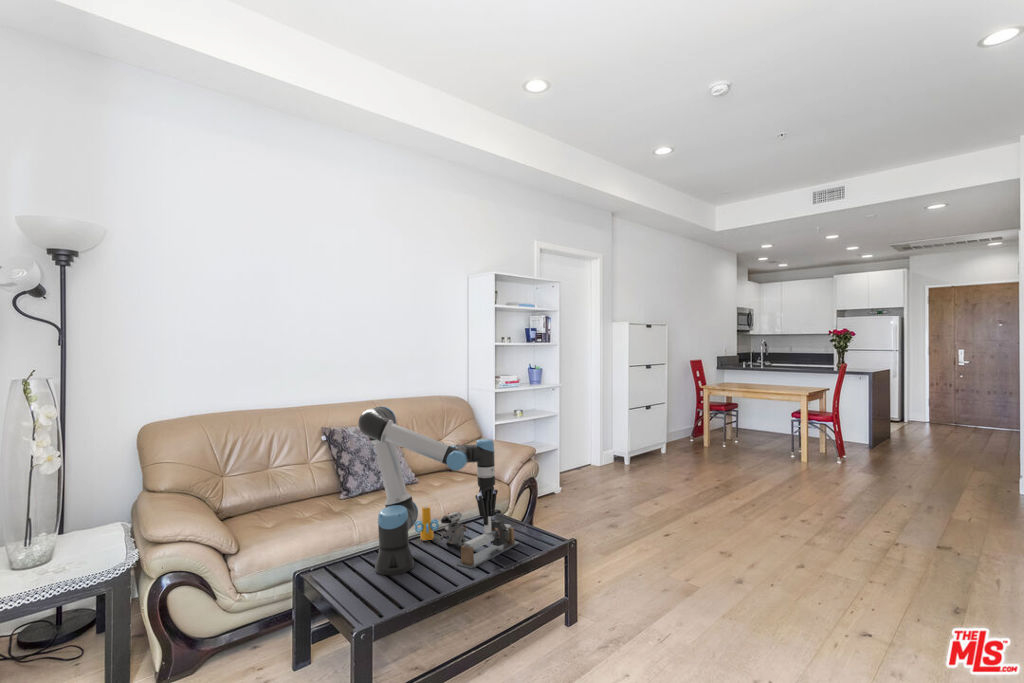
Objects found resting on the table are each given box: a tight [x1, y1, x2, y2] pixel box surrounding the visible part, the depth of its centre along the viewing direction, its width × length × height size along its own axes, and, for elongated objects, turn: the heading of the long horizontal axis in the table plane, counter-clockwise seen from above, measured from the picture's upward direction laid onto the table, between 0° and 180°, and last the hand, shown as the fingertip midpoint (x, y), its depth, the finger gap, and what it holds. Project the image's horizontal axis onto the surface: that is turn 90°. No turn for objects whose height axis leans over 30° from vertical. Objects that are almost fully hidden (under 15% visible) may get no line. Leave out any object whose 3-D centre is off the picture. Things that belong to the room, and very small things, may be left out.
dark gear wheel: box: [485, 519, 508, 546], centre depth 224 cm, size 2×10×10 cm, turn 54°
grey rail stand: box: [456, 523, 519, 569], centre depth 219 cm, size 32×8×9 cm, turn 144°
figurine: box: [440, 511, 467, 550], centre depth 228 cm, size 9×12×15 cm
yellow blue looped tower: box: [414, 505, 440, 540], centre depth 241 cm, size 12×10×15 cm
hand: (487, 531), depth 219 cm, fingers closed
